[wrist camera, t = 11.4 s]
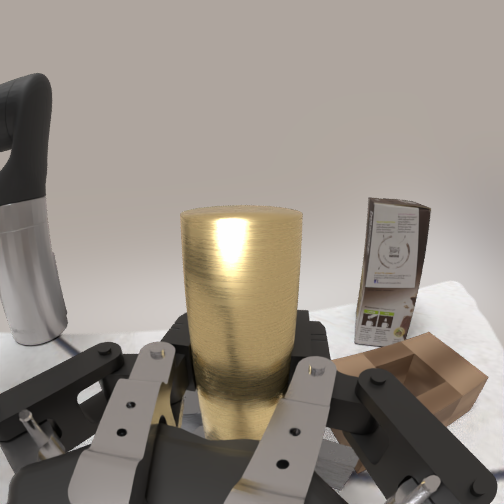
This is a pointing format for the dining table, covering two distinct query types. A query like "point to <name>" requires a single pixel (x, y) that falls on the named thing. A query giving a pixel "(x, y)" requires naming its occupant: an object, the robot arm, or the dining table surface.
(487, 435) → the dining table surface
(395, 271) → the coffee box
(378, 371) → the robot arm
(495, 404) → the dining table surface
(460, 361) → the hollow rectangular block
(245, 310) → the axle
